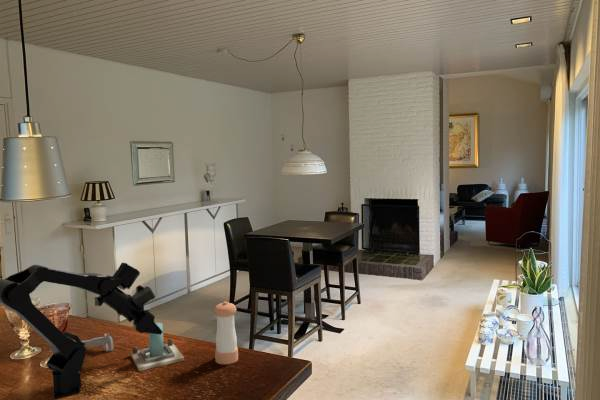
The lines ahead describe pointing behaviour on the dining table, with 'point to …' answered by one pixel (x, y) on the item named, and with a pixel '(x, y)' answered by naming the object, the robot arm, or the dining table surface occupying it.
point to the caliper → (101, 342)
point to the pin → (156, 343)
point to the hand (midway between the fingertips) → (157, 328)
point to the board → (147, 362)
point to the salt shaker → (226, 334)
